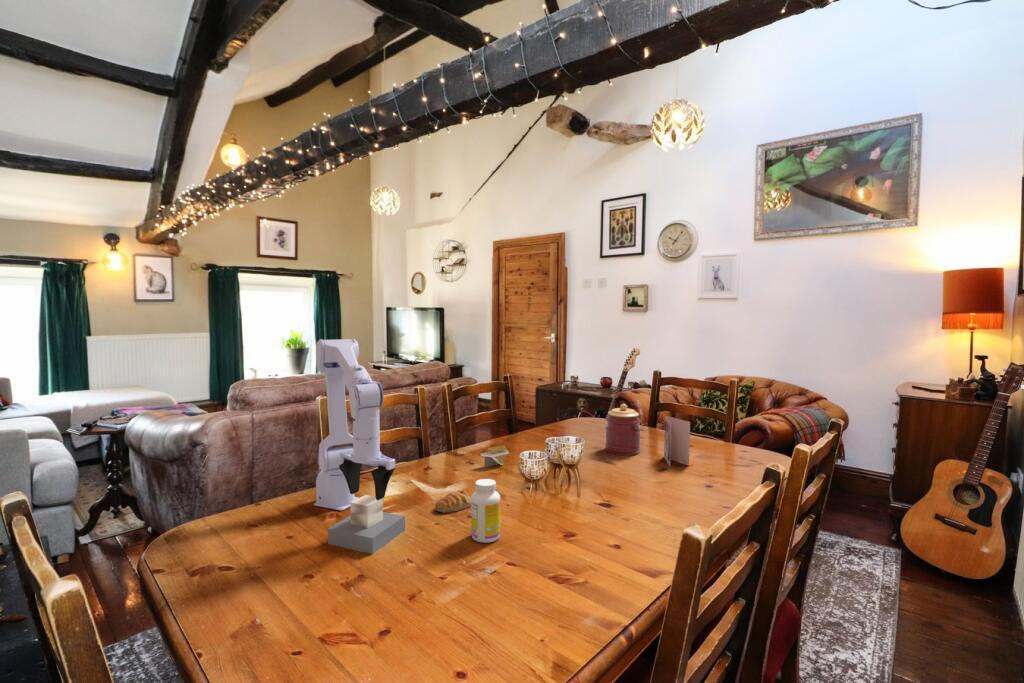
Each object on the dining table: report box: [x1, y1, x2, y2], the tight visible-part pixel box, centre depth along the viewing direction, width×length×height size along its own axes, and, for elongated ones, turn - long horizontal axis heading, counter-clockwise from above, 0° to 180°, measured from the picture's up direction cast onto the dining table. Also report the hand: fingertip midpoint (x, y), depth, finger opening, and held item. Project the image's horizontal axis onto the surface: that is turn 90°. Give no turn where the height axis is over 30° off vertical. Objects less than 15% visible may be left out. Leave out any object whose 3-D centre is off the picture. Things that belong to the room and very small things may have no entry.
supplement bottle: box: [470, 478, 501, 544], centre depth 109 cm, size 7×7×13 cm
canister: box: [604, 403, 642, 456], centre depth 179 cm, size 13×13×18 cm
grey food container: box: [480, 445, 509, 468], centre depth 160 cm, size 12×18×7 cm, turn 126°
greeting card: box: [662, 415, 691, 467], centre depth 165 cm, size 11×7×15 cm, turn 172°
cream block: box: [350, 494, 384, 528], centre depth 109 cm, size 5×5×5 cm
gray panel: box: [327, 511, 406, 555], centre depth 109 cm, size 12×12×4 cm
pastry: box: [434, 489, 471, 514], centre depth 126 cm, size 9×7×4 cm
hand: (367, 495), depth 109 cm, fingers open, 7 cm apart
